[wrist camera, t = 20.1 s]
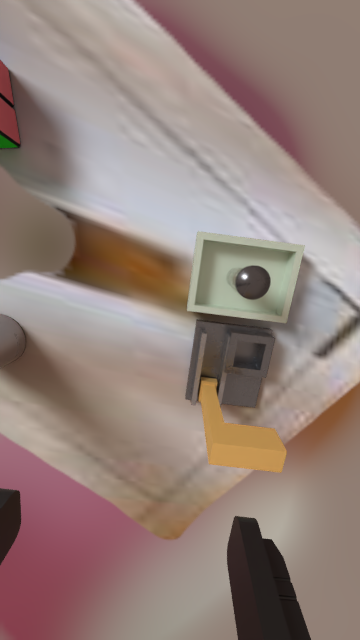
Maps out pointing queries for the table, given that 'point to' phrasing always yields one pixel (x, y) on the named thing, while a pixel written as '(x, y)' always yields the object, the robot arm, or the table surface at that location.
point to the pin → (249, 281)
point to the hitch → (230, 361)
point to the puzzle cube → (7, 112)
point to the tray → (238, 252)
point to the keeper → (237, 437)
